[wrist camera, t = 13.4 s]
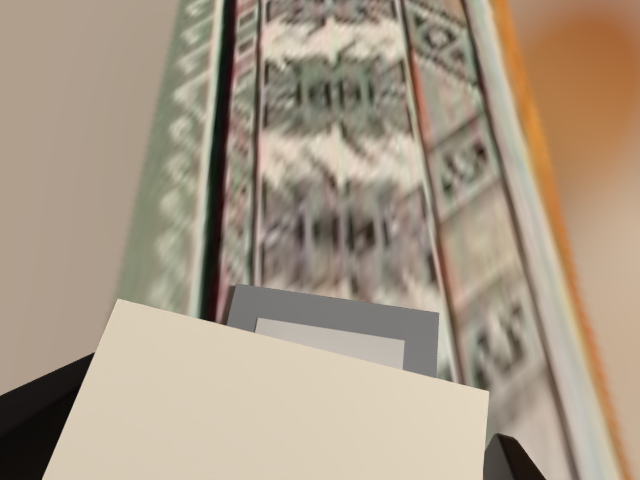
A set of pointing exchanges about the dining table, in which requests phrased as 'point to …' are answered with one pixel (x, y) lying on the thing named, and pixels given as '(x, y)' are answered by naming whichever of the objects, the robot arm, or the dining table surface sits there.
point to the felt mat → (341, 326)
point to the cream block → (258, 410)
